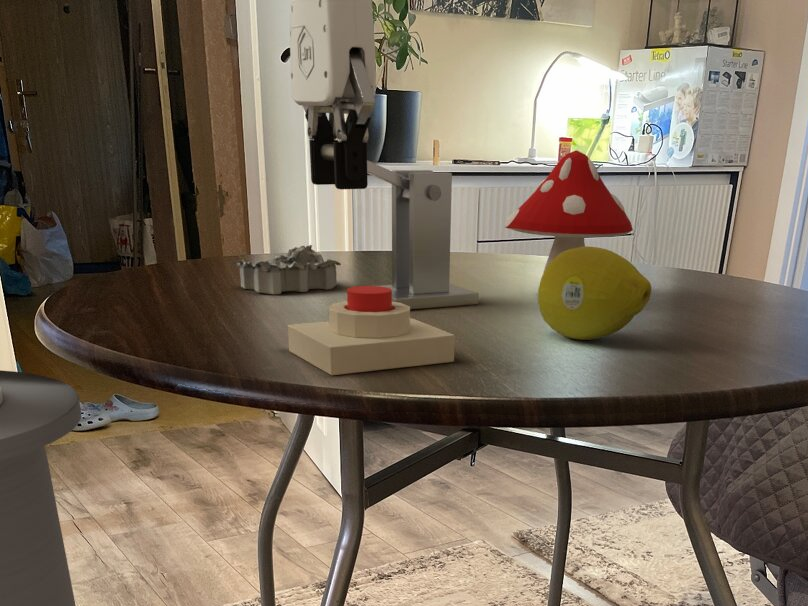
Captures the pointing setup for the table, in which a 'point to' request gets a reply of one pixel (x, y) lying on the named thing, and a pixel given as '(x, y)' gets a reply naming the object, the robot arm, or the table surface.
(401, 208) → the grey lever stand
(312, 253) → the egg carton
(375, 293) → the button
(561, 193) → the decorative mushroom
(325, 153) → the tap lever
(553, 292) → the lemon
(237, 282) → the table surface
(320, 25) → the robot arm
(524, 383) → the table surface
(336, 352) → the control block
